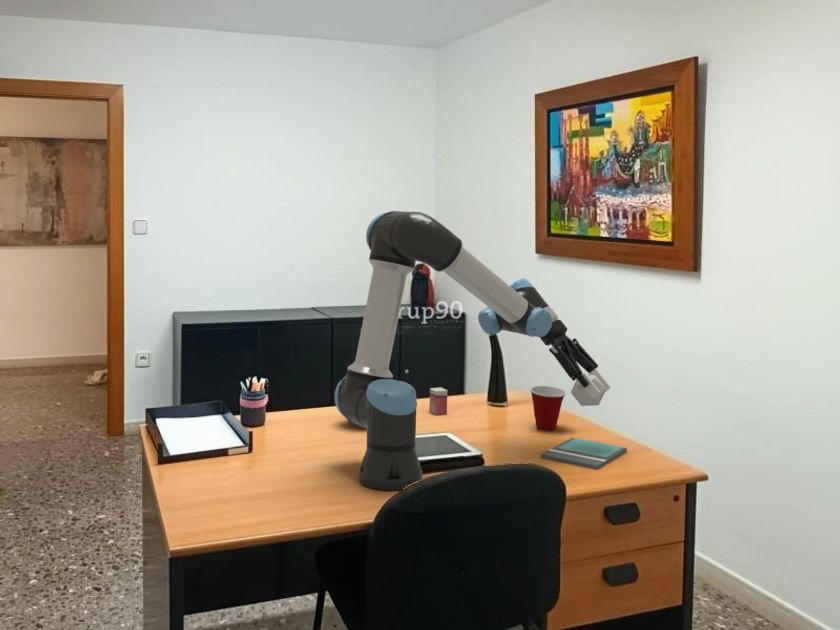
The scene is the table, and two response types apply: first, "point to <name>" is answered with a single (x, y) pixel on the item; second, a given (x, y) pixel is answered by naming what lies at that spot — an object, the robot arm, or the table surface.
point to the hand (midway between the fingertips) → (601, 392)
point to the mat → (584, 453)
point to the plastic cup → (547, 406)
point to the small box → (438, 401)
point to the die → (583, 396)
